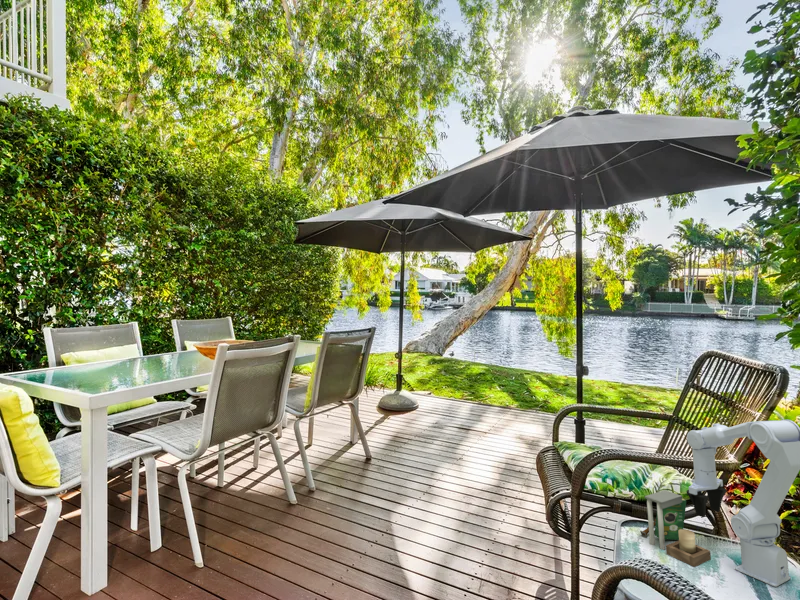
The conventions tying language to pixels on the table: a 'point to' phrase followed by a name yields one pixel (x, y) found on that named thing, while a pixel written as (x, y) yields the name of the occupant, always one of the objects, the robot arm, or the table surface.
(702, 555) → the socket block
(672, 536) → the coffee box
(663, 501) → the miniature side table
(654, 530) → the wooden post with brackets
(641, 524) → the table surface
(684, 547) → the peg
